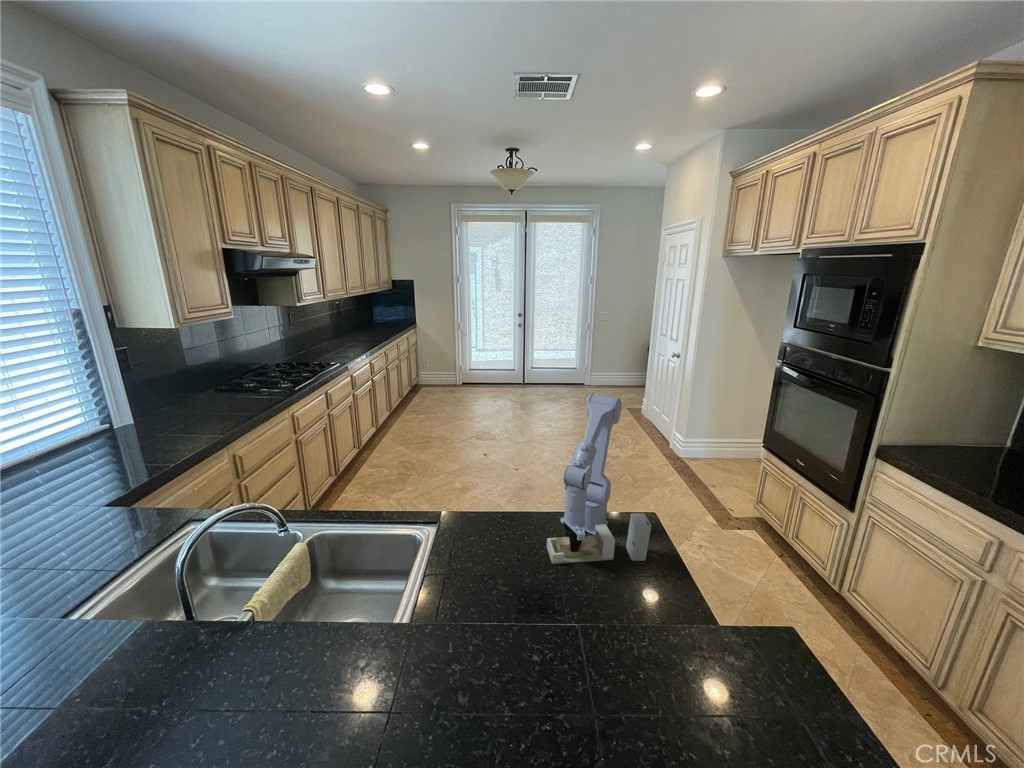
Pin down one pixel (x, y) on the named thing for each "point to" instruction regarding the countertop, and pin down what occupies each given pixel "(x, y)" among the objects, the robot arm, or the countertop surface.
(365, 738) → the countertop surface
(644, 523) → the skincare box
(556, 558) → the endcap rail
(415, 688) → the countertop surface
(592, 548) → the tan rectangular block
